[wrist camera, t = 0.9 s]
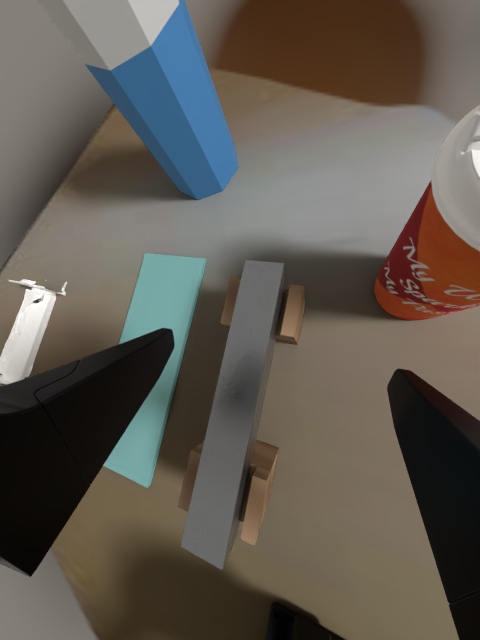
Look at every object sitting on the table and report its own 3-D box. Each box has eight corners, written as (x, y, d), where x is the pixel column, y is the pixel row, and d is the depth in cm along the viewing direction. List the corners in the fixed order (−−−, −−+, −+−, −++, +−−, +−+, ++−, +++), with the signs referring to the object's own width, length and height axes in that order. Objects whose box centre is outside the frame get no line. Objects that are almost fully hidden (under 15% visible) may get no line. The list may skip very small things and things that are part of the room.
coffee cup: (347, 313, 22) (415, 219, 8) (379, 238, 22) (499, 21, 8) (448, 349, 19) (844, 305, 5) (483, 262, 19) (940, -6, 5)
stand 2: (270, 492, 21) (254, 545, 15) (212, 468, 23) (177, 506, 17) (279, 448, 21) (266, 481, 15) (221, 427, 23) (190, 450, 17)
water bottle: (230, 200, 28) (-147, -581, 5) (168, 199, 31) (-246, -287, 8) (246, 136, 30) (4, -744, 6) (185, 141, 33) (-132, -432, 9)
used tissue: (80, 287, 34) (52, 278, 30) (22, 396, 33) (-14, 400, 29) (40, 265, 38) (11, 254, 34) (-12, 363, 37) (-49, 363, 33)
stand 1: (298, 344, 23) (293, 337, 17) (242, 333, 25) (220, 323, 18) (305, 306, 23) (303, 285, 17) (249, 298, 25) (230, 277, 19)
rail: (237, 535, 17) (222, 570, 14) (201, 517, 17) (180, 546, 15) (287, 278, 19) (284, 263, 16) (254, 274, 20) (245, 259, 17)
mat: (150, 484, 24) (147, 487, 24) (91, 455, 27) (86, 457, 27) (206, 260, 28) (204, 258, 27) (148, 255, 31) (145, 253, 30)
